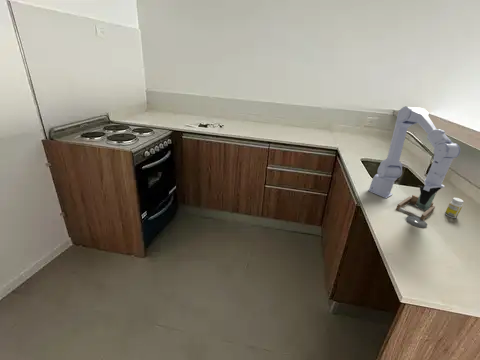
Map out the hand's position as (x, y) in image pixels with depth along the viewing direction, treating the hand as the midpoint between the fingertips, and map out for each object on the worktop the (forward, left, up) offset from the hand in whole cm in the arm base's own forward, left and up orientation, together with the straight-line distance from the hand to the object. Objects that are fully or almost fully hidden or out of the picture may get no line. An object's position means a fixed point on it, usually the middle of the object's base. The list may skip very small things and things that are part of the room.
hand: (424, 202), depth 116 cm
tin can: (0, 0, -2) cm, 2 cm away
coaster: (0, -2, -9) cm, 9 cm away
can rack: (-4, +10, -9) cm, 15 cm away
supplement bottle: (+8, +21, -10) cm, 25 cm away
